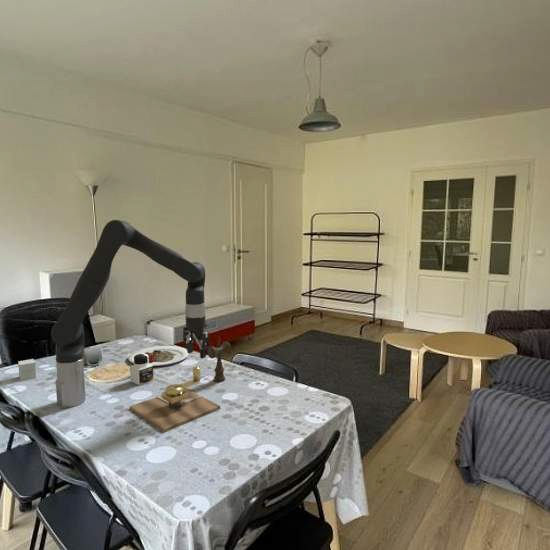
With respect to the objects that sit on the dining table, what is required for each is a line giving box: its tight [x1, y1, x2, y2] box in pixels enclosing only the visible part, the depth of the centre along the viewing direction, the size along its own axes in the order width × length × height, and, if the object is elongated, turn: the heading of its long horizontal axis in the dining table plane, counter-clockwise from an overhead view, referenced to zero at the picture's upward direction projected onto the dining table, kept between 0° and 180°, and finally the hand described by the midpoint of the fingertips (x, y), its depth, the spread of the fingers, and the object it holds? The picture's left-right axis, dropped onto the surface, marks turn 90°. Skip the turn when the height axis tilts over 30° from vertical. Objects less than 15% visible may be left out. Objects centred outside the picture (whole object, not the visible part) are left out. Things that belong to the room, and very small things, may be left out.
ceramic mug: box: [83, 346, 103, 368], centre depth 194 cm, size 11×8×8 cm
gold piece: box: [160, 366, 201, 404], centre depth 150 cm, size 15×9×9 cm, turn 136°
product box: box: [17, 358, 37, 382], centre depth 176 cm, size 6×6×7 cm
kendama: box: [206, 336, 232, 382], centre depth 174 cm, size 6×10×20 cm, turn 134°
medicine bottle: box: [129, 354, 154, 386], centre depth 173 cm, size 7×7×12 cm
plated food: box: [127, 345, 189, 367], centre depth 203 cm, size 30×30×3 cm
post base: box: [129, 388, 221, 433], centre depth 148 cm, size 24×24×6 cm
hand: (196, 355), depth 153 cm, fingers open, 8 cm apart
